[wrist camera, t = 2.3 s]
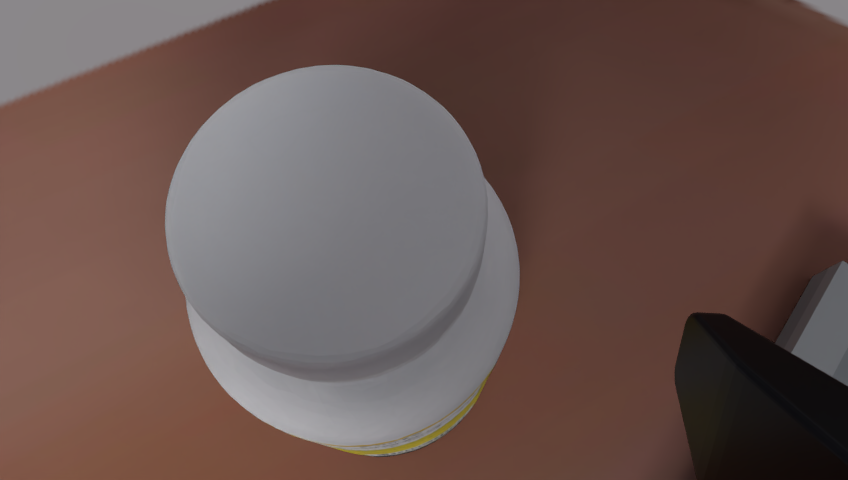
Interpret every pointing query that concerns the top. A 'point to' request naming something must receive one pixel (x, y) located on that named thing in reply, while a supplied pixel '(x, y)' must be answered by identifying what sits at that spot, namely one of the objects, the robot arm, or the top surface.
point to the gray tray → (821, 323)
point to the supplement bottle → (343, 258)
